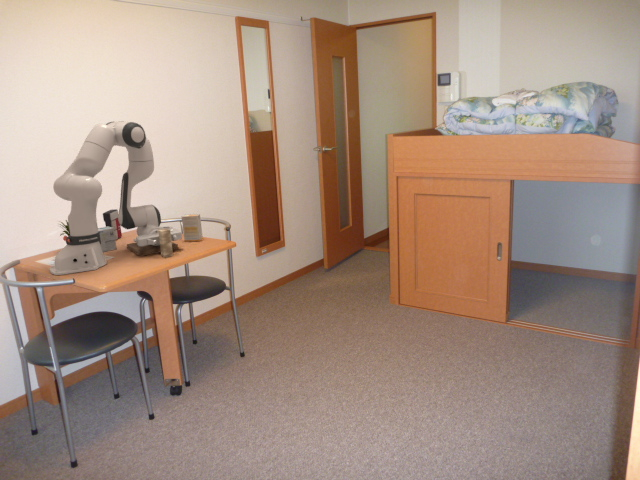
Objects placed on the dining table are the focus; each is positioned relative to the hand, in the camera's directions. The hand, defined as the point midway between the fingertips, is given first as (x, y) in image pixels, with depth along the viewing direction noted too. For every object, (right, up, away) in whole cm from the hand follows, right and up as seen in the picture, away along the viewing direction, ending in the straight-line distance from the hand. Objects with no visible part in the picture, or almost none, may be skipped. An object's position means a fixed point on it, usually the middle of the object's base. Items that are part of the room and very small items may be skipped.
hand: (165, 240), depth 242 cm
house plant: (-51, -5, +20) cm, 55 cm away
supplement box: (+6, 0, +29) cm, 30 cm away
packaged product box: (-38, 0, +41) cm, 56 cm away
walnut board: (-11, -4, +17) cm, 21 cm away
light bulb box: (-35, -5, +18) cm, 39 cm away
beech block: (+1, -7, +1) cm, 7 cm away
